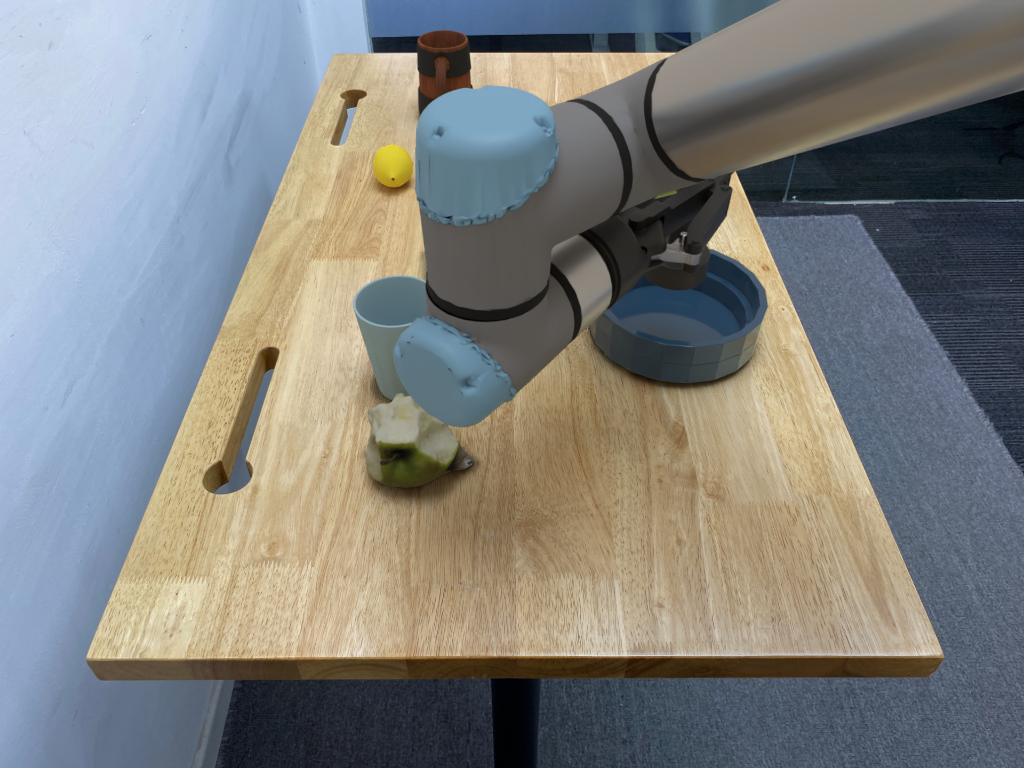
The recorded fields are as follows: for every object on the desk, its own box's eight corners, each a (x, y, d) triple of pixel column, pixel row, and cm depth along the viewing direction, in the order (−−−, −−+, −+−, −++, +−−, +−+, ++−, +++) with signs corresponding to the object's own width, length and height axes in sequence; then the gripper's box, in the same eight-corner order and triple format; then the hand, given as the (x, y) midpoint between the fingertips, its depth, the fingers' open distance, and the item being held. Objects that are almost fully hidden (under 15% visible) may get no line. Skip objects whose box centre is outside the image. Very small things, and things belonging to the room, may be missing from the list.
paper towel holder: (707, 293, 71) (752, 91, 58) (641, 287, 71) (671, 86, 58) (704, 256, 75) (746, 61, 62) (642, 251, 76) (670, 56, 63)
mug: (415, 139, 114) (408, 59, 106) (421, 104, 123) (415, 28, 115) (473, 139, 114) (470, 59, 106) (475, 104, 123) (473, 28, 115)
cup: (421, 420, 73) (411, 335, 65) (352, 397, 75) (335, 312, 68) (458, 371, 78) (453, 287, 71) (392, 350, 80) (381, 267, 73)
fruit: (421, 528, 65) (393, 474, 60) (354, 476, 71) (321, 421, 65) (494, 454, 69) (474, 397, 63) (425, 410, 74) (400, 353, 68)
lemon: (375, 172, 107) (371, 136, 103) (414, 171, 107) (411, 134, 104) (373, 198, 102) (368, 161, 98) (414, 196, 102) (411, 159, 99)
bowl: (762, 397, 75) (775, 354, 71) (582, 379, 77) (586, 336, 73) (748, 289, 88) (759, 249, 84) (594, 276, 90) (597, 235, 86)
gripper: (492, 276, 62) (643, 165, 75) (656, 353, 55) (789, 215, 69) (491, 193, 57) (653, 89, 70) (671, 266, 50) (812, 136, 64)
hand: (720, 152), depth 69 cm, fingers closed on paper towel holder, 2 cm apart
